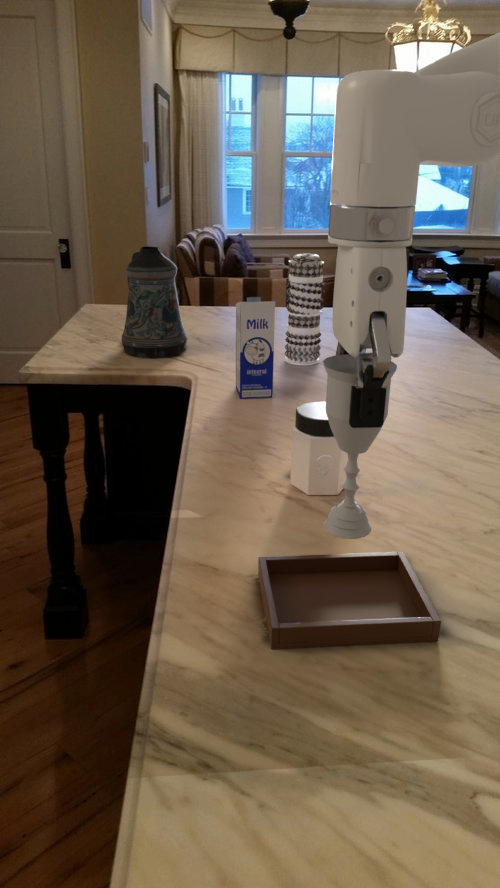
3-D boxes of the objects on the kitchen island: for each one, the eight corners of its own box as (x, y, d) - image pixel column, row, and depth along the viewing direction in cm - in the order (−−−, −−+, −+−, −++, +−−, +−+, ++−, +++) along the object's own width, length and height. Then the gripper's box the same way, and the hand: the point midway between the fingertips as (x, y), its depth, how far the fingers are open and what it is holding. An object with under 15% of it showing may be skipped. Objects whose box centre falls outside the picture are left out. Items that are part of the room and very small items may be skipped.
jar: (292, 496, 104) (295, 420, 99) (287, 473, 111) (290, 401, 107) (353, 496, 104) (359, 420, 99) (344, 472, 112) (349, 401, 107)
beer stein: (162, 362, 168) (158, 254, 158) (99, 351, 177) (91, 248, 167) (200, 347, 181) (198, 247, 171) (140, 337, 190) (135, 241, 180)
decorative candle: (288, 366, 166) (292, 258, 156) (279, 356, 174) (282, 252, 164) (325, 365, 168) (332, 257, 158) (314, 354, 176) (319, 251, 166)
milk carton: (239, 398, 144) (240, 301, 136) (234, 388, 150) (235, 294, 142) (273, 397, 145) (276, 300, 137) (267, 387, 151) (269, 294, 144)
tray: (401, 569, 86) (403, 551, 85) (438, 641, 74) (441, 620, 73) (258, 575, 85) (258, 556, 84) (271, 649, 72) (271, 628, 71)
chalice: (301, 529, 74) (309, 365, 67) (332, 505, 80) (342, 350, 73) (364, 551, 71) (379, 379, 64) (392, 524, 76) (409, 362, 69)
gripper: (444, 237, 56) (420, 445, 62) (386, 217, 71) (372, 385, 78) (350, 237, 55) (336, 447, 62) (313, 217, 71) (305, 386, 78)
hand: (356, 411), depth 70 cm, fingers closed on chalice, 6 cm apart
